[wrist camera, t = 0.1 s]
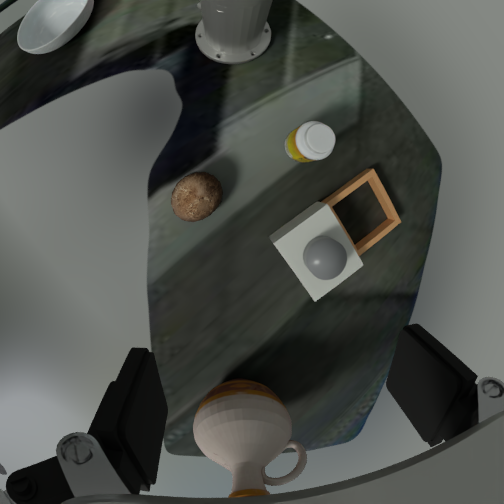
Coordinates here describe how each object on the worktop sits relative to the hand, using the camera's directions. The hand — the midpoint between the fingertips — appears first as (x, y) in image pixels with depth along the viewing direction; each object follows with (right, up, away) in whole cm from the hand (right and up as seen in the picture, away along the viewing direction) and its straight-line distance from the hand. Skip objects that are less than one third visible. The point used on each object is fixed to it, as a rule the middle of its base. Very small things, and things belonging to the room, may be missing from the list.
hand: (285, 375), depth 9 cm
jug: (-3, -25, +45) cm, 52 cm away
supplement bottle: (+7, +21, +34) cm, 41 cm away
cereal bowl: (-38, +50, +22) cm, 67 cm away
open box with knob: (+13, +8, +38) cm, 41 cm away
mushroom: (-10, +13, +34) cm, 38 cm away
